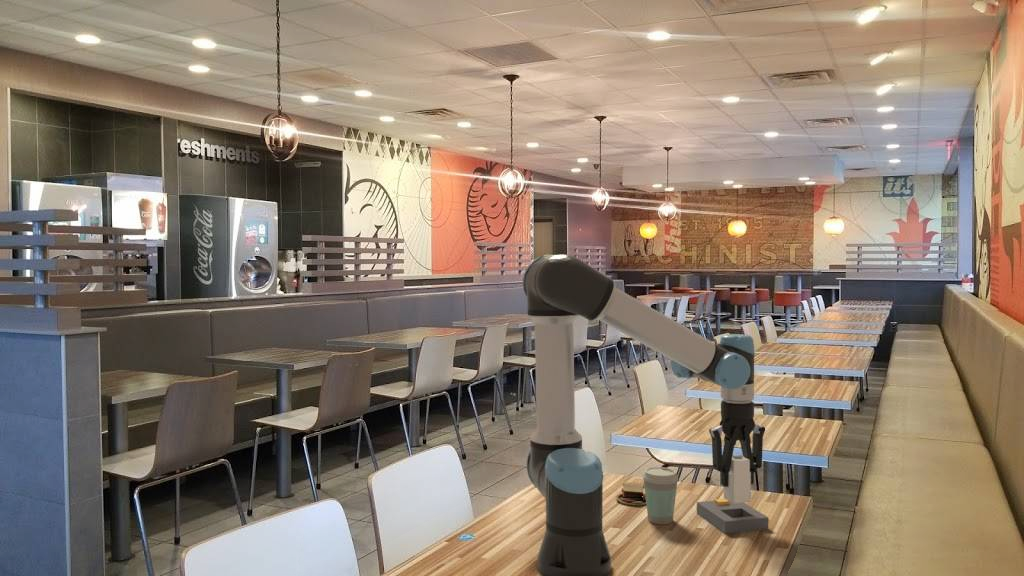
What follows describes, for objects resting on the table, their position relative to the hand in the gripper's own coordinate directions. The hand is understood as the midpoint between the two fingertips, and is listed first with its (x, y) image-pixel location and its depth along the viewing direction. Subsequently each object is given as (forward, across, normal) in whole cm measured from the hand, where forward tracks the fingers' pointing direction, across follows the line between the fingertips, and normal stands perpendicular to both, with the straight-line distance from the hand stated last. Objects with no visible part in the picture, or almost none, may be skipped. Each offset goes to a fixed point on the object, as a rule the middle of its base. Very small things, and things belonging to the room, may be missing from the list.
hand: (737, 498), depth 175 cm
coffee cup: (+7, -16, +8) cm, 19 cm away
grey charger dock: (+6, 0, +2) cm, 7 cm away
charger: (0, 0, 0) cm, 0 cm away
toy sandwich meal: (+7, -16, +23) cm, 29 cm away
